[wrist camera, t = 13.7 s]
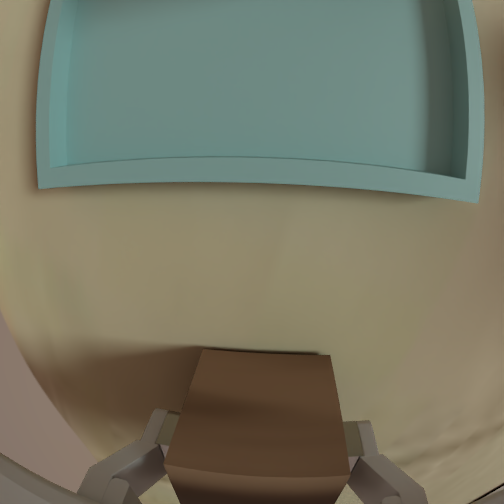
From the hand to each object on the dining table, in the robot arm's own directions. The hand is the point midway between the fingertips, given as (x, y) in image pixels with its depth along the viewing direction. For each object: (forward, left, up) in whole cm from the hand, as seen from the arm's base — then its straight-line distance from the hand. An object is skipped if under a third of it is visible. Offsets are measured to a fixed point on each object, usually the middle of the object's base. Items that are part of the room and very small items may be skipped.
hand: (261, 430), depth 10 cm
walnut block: (0, 0, -2) cm, 2 cm away
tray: (+15, +1, -2) cm, 15 cm away
